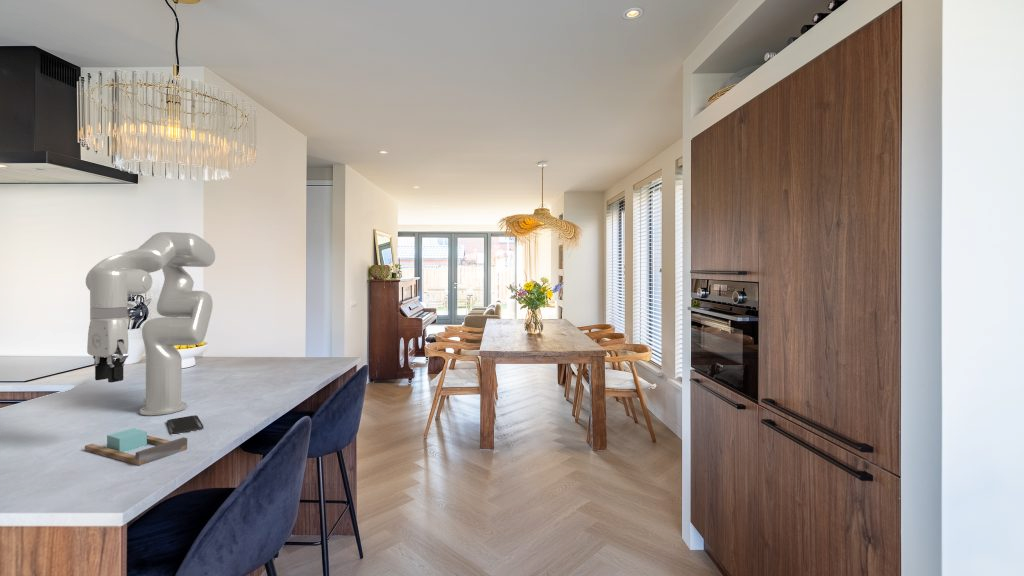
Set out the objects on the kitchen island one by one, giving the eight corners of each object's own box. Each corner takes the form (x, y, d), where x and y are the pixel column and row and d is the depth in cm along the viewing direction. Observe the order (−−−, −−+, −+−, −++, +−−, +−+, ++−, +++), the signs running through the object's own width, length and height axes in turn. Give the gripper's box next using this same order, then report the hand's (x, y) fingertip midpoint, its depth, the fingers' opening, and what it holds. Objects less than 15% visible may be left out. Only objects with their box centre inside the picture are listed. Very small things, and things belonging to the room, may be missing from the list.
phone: (196, 414, 142) (204, 427, 131) (196, 418, 142) (204, 430, 131) (166, 419, 137) (170, 433, 126) (166, 423, 137) (170, 436, 126)
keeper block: (107, 450, 115) (107, 435, 115) (134, 442, 121) (134, 428, 121) (119, 454, 113) (119, 439, 113) (146, 446, 118) (146, 431, 118)
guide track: (84, 450, 114) (84, 439, 114) (133, 436, 124) (133, 426, 124) (139, 465, 106) (139, 453, 106) (187, 449, 116) (187, 438, 116)
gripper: (73, 313, 118) (73, 380, 119) (111, 316, 112) (111, 386, 113) (107, 311, 125) (107, 374, 126) (144, 314, 119) (144, 380, 120)
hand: (109, 379), depth 119 cm, fingers open, 5 cm apart
